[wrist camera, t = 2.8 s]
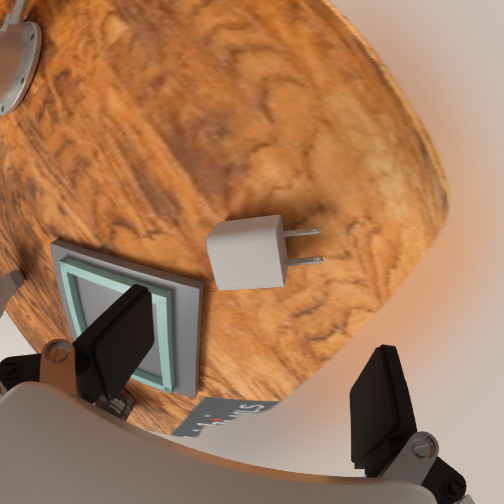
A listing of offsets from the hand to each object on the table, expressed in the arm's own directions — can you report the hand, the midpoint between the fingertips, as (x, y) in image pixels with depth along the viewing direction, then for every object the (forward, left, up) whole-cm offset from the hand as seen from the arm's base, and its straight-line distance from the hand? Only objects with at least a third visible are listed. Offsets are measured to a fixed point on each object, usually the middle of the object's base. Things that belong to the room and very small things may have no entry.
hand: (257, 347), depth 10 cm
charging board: (+13, -15, -11) cm, 22 cm away
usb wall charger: (0, -1, -11) cm, 11 cm away
